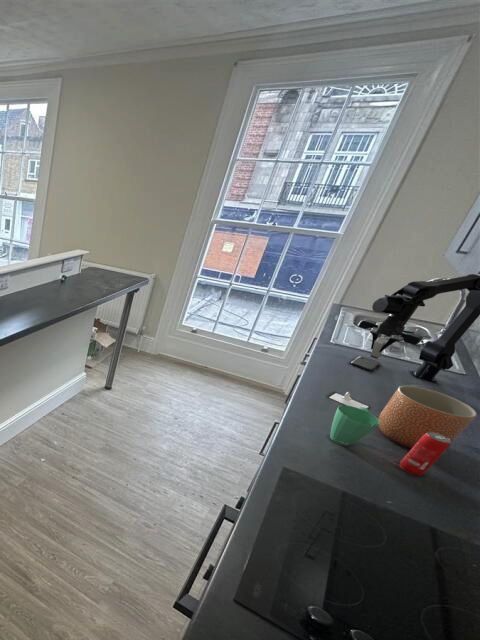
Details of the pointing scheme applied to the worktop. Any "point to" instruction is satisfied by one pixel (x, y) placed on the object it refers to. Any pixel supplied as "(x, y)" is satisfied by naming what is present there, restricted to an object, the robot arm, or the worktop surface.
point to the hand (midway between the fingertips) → (375, 350)
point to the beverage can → (424, 453)
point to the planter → (423, 415)
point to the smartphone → (365, 363)
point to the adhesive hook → (347, 400)
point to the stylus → (377, 347)
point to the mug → (352, 424)
